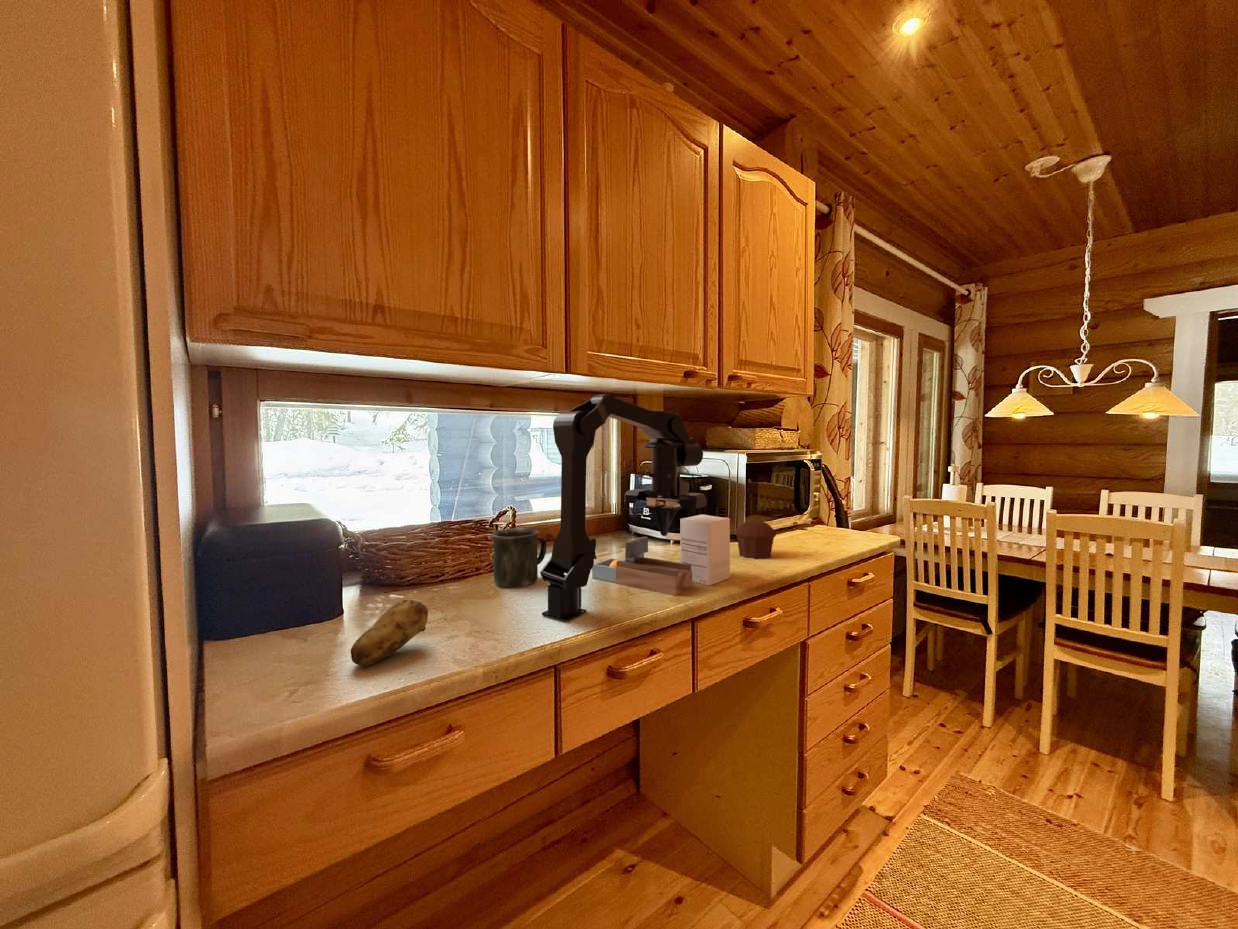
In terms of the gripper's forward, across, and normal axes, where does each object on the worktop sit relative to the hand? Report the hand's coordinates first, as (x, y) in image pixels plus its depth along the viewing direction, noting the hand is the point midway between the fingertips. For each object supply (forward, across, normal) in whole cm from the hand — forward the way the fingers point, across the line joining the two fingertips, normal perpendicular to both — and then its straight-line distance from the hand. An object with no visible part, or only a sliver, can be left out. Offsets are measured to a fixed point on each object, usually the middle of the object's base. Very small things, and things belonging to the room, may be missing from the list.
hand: (664, 535), depth 120 cm
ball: (+10, +13, 0) cm, 16 cm away
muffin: (+12, -6, -42) cm, 44 cm away
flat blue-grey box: (+12, +14, 0) cm, 19 cm away
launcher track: (+12, +3, 0) cm, 12 cm away
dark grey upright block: (+8, +8, 0) cm, 11 cm away
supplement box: (+12, -5, -12) cm, 18 cm away
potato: (+12, +18, +57) cm, 61 cm away
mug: (+12, +31, +15) cm, 36 cm away
